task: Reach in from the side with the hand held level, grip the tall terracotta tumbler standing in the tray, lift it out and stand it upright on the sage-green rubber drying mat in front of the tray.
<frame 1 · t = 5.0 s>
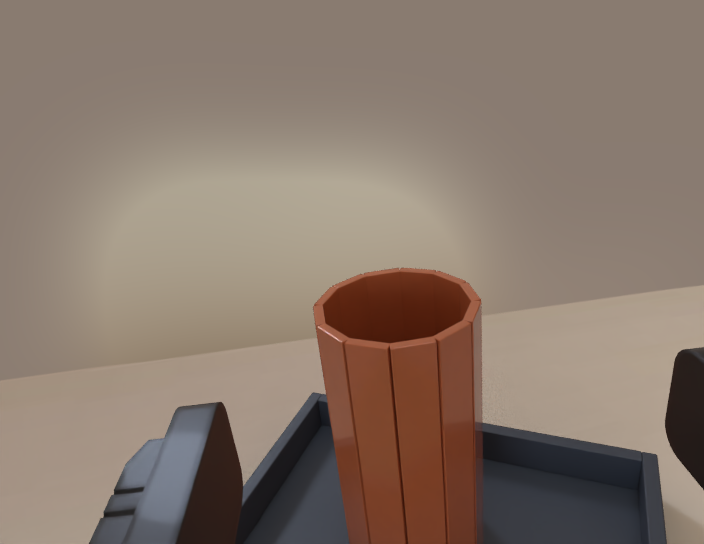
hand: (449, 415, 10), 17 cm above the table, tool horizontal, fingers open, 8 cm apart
tumbler: (414, 535, 27), point 1 cm above the table, touching tray
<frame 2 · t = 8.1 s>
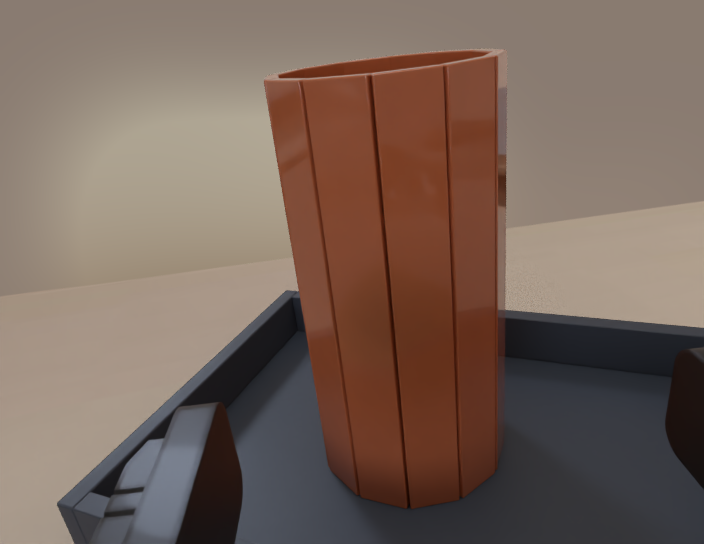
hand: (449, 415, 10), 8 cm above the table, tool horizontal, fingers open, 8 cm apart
tray: (436, 464, 19), on the table
tumbler: (412, 437, 20), point 1 cm above the table, touching tray
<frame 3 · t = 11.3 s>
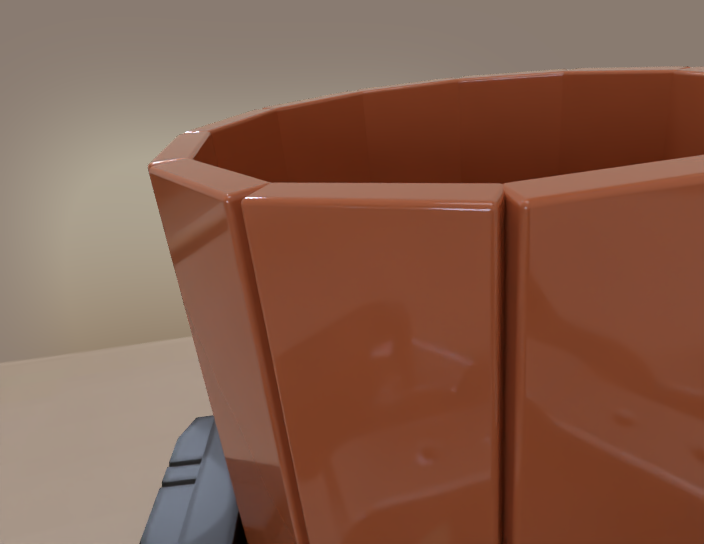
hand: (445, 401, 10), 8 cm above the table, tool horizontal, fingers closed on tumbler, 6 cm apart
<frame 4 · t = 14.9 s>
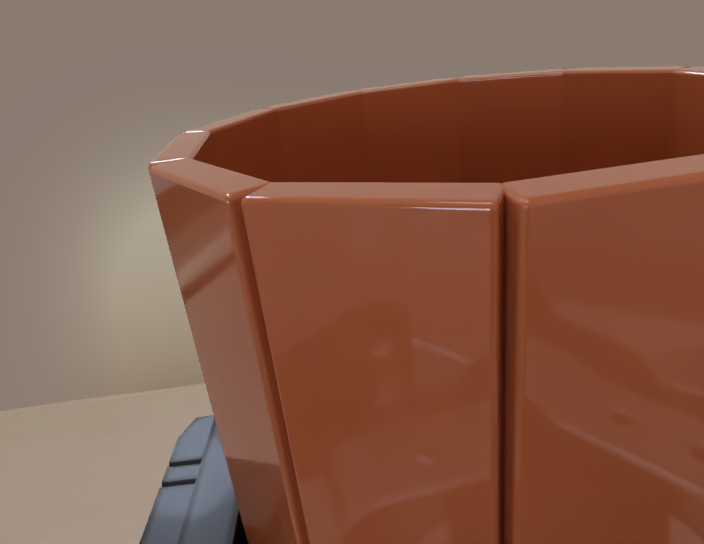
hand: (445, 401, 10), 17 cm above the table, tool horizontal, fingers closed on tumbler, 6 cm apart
when the fingers open (8 cm above the table, at t = 19.0 s): tumbler stays where it is, resting on drying mat.
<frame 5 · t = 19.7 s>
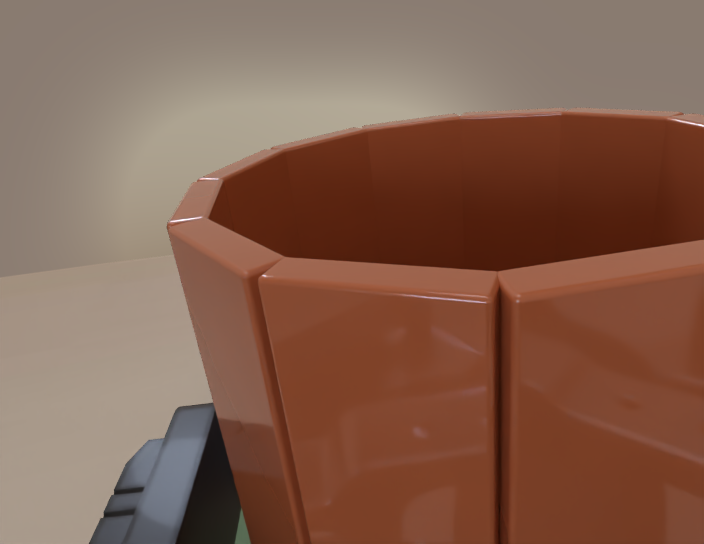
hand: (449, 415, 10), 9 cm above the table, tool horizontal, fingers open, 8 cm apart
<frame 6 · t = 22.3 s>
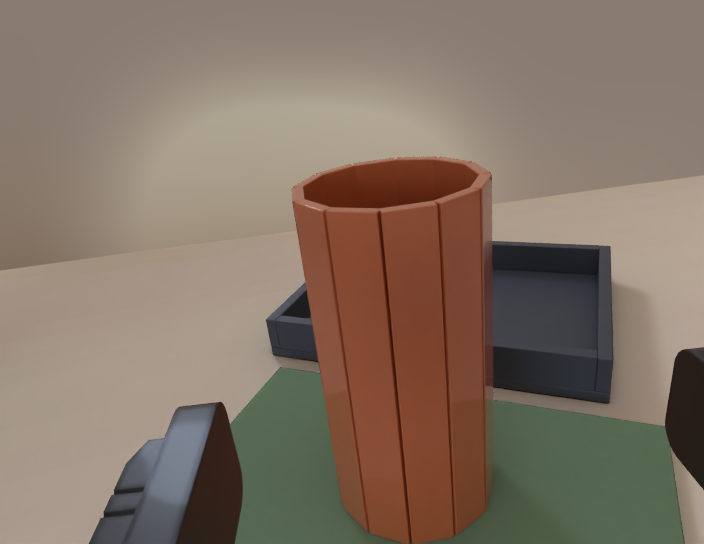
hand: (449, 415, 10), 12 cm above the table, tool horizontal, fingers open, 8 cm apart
tray: (449, 315, 37), on the table
tumbler: (414, 477, 23), point 1 cm above the table, touching drying mat
drying mat: (413, 486, 23), on the table
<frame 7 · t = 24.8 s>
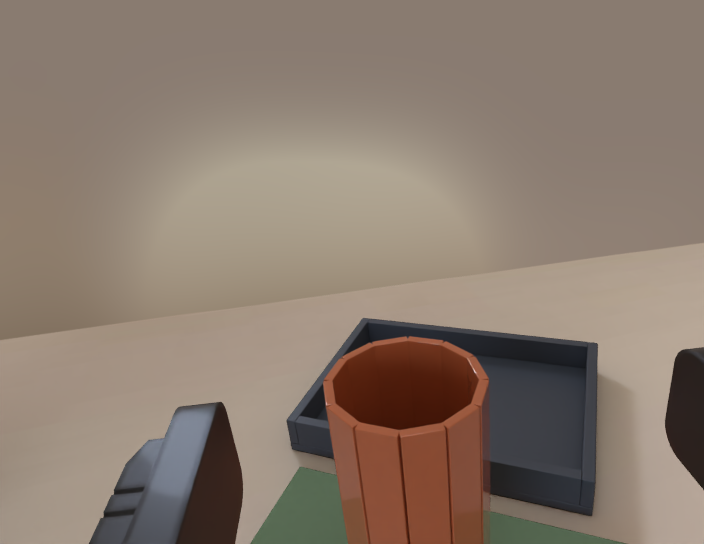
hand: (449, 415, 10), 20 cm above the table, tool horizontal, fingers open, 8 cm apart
tray: (451, 408, 40), on the table
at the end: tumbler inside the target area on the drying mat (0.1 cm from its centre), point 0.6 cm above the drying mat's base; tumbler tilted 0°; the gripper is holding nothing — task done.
